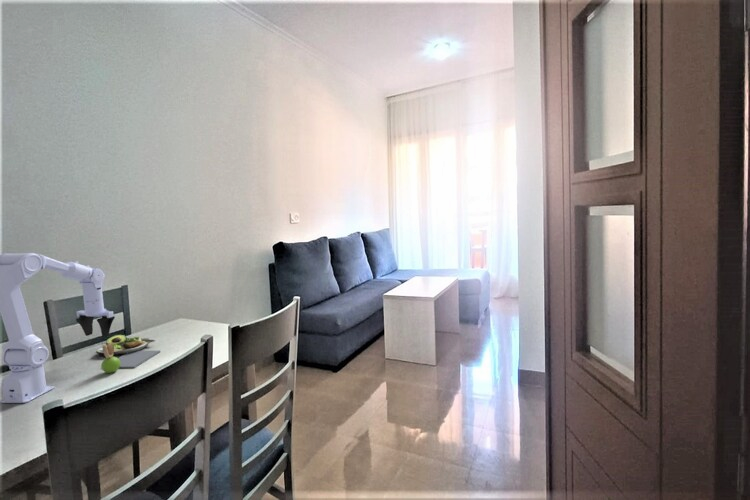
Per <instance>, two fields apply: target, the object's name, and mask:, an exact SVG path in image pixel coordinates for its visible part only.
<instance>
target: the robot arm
mask: <svg viewBox="0 0 750 500" xmlns="http://www.w3.org/2000/svg"><path fill="white" fill-rule="evenodd" d="M90 266H91V265H87V264H85V265H84V264H80V263H79V261H77V260H71V261H67V262H62V261H59V260H58V259H54V258H51V257H49V256H45V255H44V254H38V253H36V252H29V253H28V252H27V253H26V252H25V253H10V252H9V253H8V252H6V253H1V254H0V316H1V319H2V323H3V325H4V329H5V333H6V335H7V339H8V341H7V342H6V343H4V344H3V345H2V351H3V354H2V358H1V359H2V363H3V364H4V365H6V366H8V368H9V370H11V371H10V372H9V374H7V375H5V376H4V377H3V378H2V380H1V383H0V384H1V390H2V391H1V392H2V397H3V400H1V403H2V404H6V403H7V404H10V403H11V404H15V403H16V404H17V403H19V404H25V403H26V404H27V403H28V402H31V401H32V400H34V399H36V398H38V397H40V396H41V395H44V394H45V393H47V392H49V391H52V390H53V389H54V388H55V386H54V385H53V386H51V385H47V381H46V374H45V364H46V362H47V360H48V358H49V356H50V351H49V349H48V346H46V345H44V342H43V340H42V339H41V338H40V337H38V336H37V335H35V334H34V331H33V327H32V324H31V321H30V318H29V314H28V310H27V307H26V304H25V300H24V299H25V298H24V297H23V294H22V293H23V292H22V290H21V285H23V284H24V282H26V281H28V280H29V279H31V277H33V276H35V274H37V273H38V272H39V271H40V270H47V271H52V272H57V273H60V276H61V277H63V278H66V279H70V280H73V281H77V282H78V284H81V287H82V288H81V289H82V298H83V306H84V309H83V310H78V311H76V317H77V318H75V321H76V322H77V323H78V324H79V325H80V327H81V329H82V330H83V333H84V335H85V336H86V337H87V336H88V337H89V336H91V335H93V332H94V331H93V328H94V327H93V322H94V319H95V317H97V319H96V322H97V324H98V326H99V328H100V332H101V336H102V337H103V338H104V337H107V336H109V335H110V332H111V327H112V324H113V321H114V320H115V315H114V311H112V310H111V311H110V310H108V309H107V308H105V304H104V295H103V287H104V281H105V277H106V274H105V273H104V271H103V270H102V269H101V268H99V267H90Z"/></svg>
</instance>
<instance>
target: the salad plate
mask: <svg viewBox="0 0 750 500" xmlns="http://www.w3.org/2000/svg"><path fill="white" fill-rule="evenodd" d="M105 342H106V344H105V345H107V344H108V343H112V344H113V345H114V352H113V356H115V355H125V354H126V353H130V352H134V351H141V350H142V349H144V348H145V347H147V346H148V345H149V344H150V343H153V342H156V339H151V338H149V337H140V336H133V337H127V336H126V335H124V334H115V335H113V336H111V337H109V338H108V339H106V341H105ZM96 353H97V354H98V355H99V356H101V357H102V356H104V357H105V355H104V351H103V346H102V347H100V348H98V349H97V350H96Z"/></svg>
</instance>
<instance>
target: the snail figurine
mask: <svg viewBox="0 0 750 500" xmlns="http://www.w3.org/2000/svg"><path fill="white" fill-rule="evenodd" d="M101 345H102V347H103V351H104V355H105V356H104V357H105V359H104V360H102V362H101V365H100V367H101V370H102V371H103V372H104V373H106V374H108V373H110V374H111V373H114V372H116V371H117V370H118V369H120V368H119V367H120V360H119V359H118V358H119V357H117V356H114V355H113V352H114V345H113V344H112V343H108V344H107V345H106V341H104V342H101Z"/></svg>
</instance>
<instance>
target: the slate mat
mask: <svg viewBox="0 0 750 500" xmlns="http://www.w3.org/2000/svg"><path fill="white" fill-rule="evenodd" d="M160 353H161V350H138V351H134V352H130V353H124V354H122V355H121V356H119V357H117V358H118V359H119V360H120V367H119V368H118V369H136V368H137V367H139V366H140V365H142V364H143V363H145V362H148V360H151V358H153V357H155V356H157V354H160Z"/></svg>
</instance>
